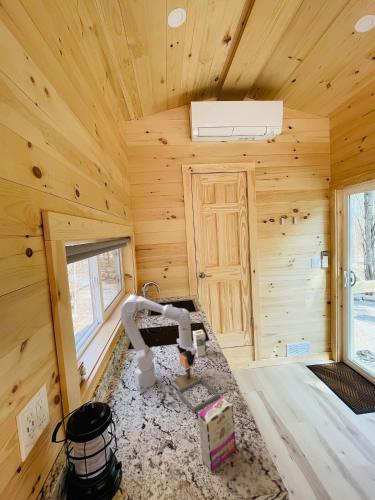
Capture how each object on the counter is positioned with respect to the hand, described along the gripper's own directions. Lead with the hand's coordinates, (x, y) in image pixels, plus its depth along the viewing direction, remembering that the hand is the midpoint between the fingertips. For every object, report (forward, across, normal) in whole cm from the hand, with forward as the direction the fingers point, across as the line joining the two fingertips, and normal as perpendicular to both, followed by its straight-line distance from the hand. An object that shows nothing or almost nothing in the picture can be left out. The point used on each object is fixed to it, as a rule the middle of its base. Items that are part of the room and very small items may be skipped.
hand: (187, 361), depth 112 cm
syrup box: (+10, +14, -17) cm, 24 cm away
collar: (+1, 0, 0) cm, 1 cm away
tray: (+10, -12, +3) cm, 16 cm away
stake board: (+10, 0, +2) cm, 10 cm away
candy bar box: (+10, -37, +12) cm, 40 cm away
